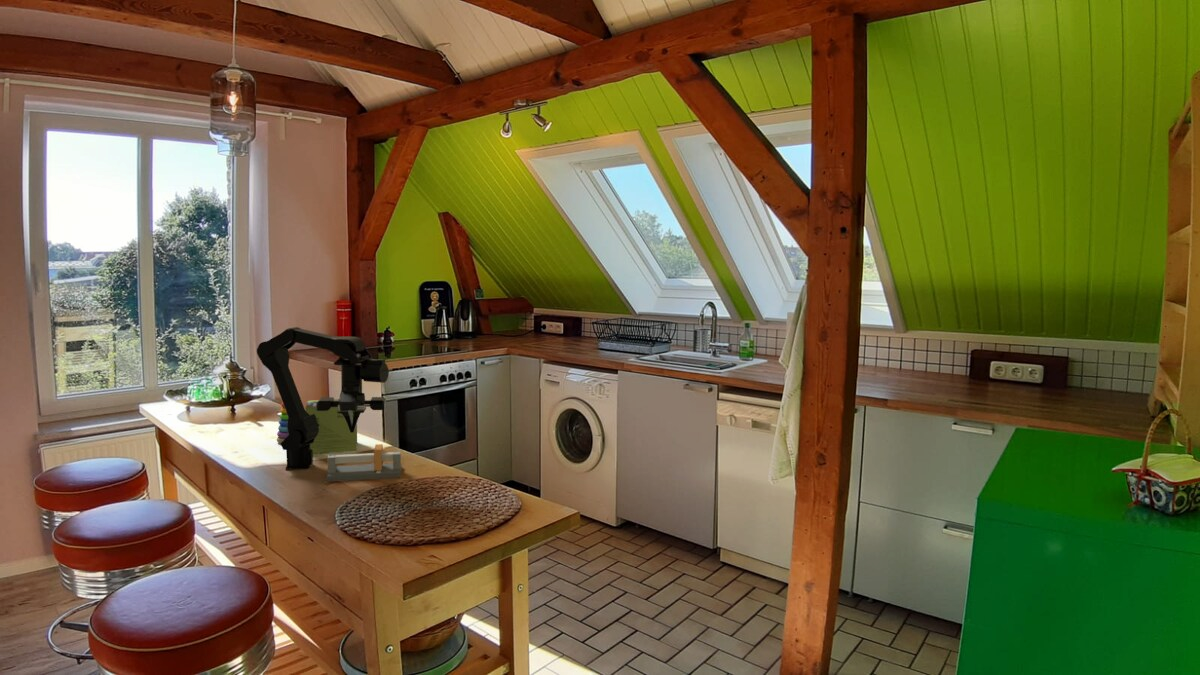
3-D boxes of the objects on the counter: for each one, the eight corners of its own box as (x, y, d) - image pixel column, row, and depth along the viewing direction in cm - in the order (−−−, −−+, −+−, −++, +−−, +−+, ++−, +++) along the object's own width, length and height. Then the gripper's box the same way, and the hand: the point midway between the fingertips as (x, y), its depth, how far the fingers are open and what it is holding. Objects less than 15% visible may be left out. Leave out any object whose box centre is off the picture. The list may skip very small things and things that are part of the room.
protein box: (357, 450, 221) (356, 404, 219) (306, 454, 216) (304, 407, 214) (357, 442, 231) (356, 397, 229) (308, 445, 225) (306, 400, 223)
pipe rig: (326, 481, 192) (325, 460, 191) (331, 471, 200) (330, 451, 199) (399, 477, 196) (399, 457, 195) (401, 467, 205) (401, 448, 204)
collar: (374, 470, 196) (373, 450, 195) (376, 464, 202) (375, 444, 201) (381, 470, 196) (381, 450, 195) (383, 463, 202) (382, 444, 201)
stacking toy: (292, 445, 225) (290, 390, 222) (271, 443, 226) (269, 389, 224) (307, 439, 232) (305, 385, 230) (287, 437, 234) (285, 384, 231)
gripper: (312, 386, 188) (313, 440, 190) (382, 385, 192) (382, 439, 194) (319, 378, 199) (320, 430, 201) (386, 378, 203) (386, 428, 205)
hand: (352, 432), depth 200 cm, fingers closed
